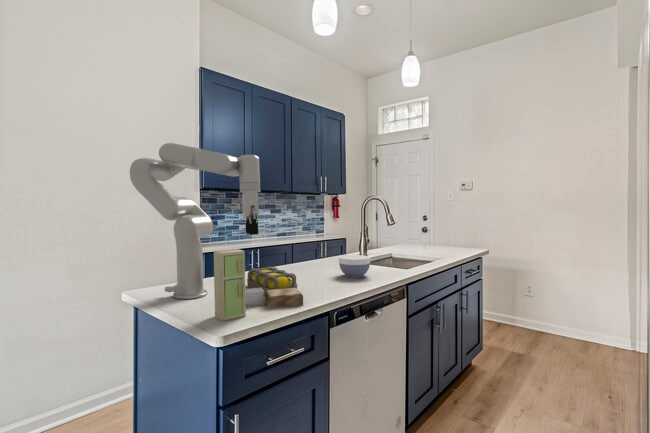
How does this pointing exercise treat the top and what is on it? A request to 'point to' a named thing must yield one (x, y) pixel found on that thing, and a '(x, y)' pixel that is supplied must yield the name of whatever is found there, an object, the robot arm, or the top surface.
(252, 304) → the block
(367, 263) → the bowl
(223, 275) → the toy refrigerator
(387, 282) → the top surface
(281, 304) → the stand
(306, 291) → the top surface
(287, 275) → the cage light
